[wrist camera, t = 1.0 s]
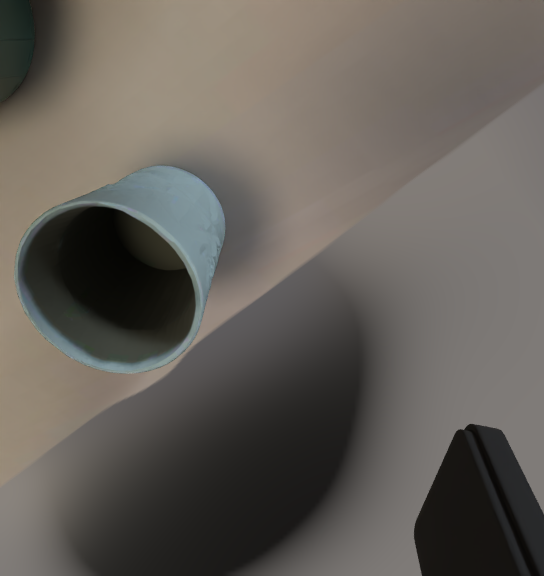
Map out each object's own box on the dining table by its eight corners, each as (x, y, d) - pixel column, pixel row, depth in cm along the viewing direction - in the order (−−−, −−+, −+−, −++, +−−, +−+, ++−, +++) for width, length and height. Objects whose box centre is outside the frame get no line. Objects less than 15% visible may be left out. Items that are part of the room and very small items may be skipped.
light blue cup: (235, 286, 40) (207, 378, 29) (107, 282, 40) (33, 371, 29) (230, 153, 35) (196, 203, 24) (86, 151, 36) (-10, 199, 25)
